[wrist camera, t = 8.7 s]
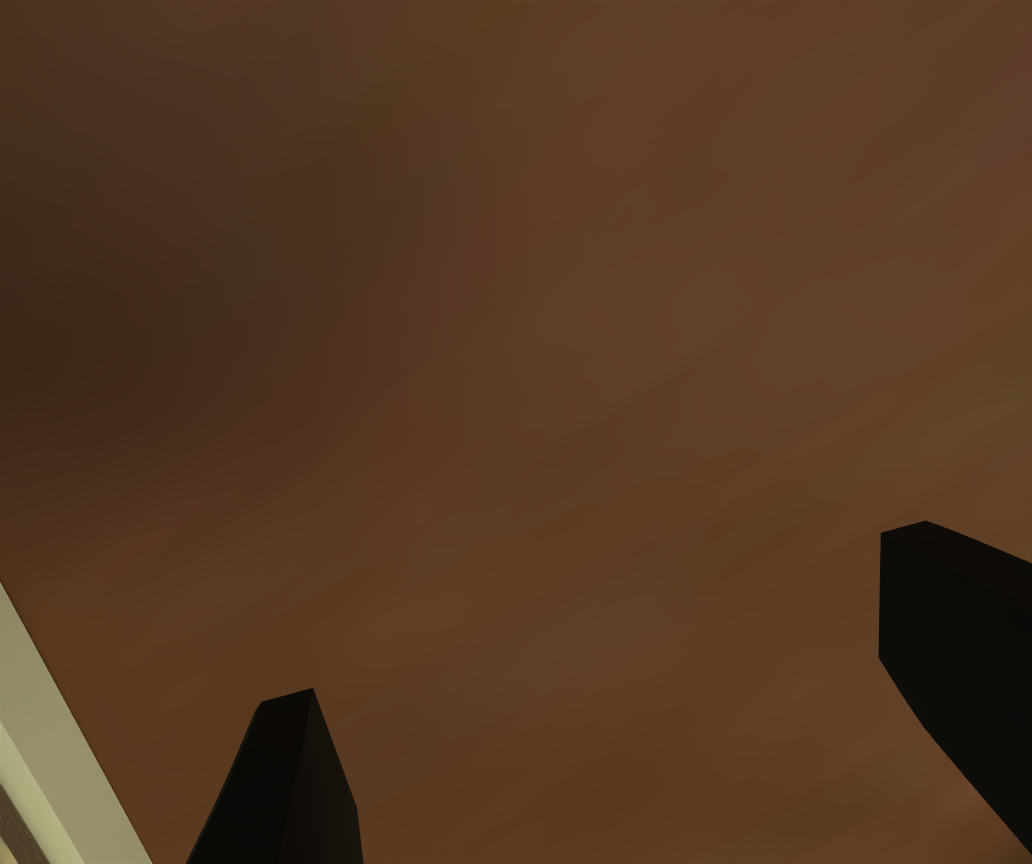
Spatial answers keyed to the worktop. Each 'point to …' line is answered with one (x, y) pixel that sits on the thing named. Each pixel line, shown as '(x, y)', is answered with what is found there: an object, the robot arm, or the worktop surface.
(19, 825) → the scale pan
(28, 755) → the scale
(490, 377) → the worktop surface
